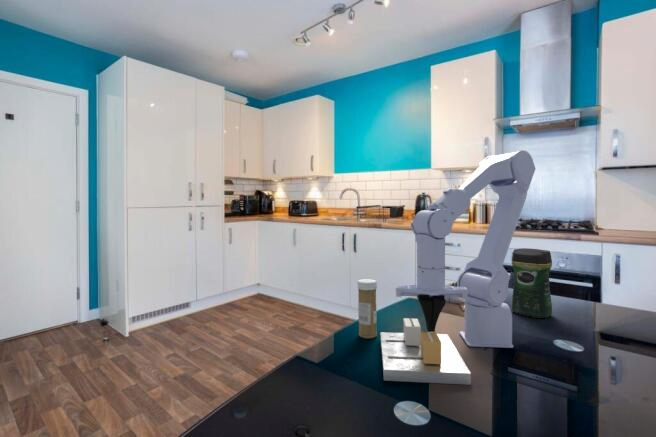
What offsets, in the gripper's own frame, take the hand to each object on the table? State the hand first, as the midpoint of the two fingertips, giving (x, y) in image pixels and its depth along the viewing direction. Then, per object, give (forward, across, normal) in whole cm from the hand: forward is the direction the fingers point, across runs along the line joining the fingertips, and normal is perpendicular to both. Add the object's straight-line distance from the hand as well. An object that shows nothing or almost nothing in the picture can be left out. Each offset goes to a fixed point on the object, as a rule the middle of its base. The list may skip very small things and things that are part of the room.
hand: (430, 330), depth 73 cm
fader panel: (+5, -3, -4) cm, 7 cm away
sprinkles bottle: (+5, -13, +8) cm, 16 cm away
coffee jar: (+5, +33, +28) cm, 43 cm away
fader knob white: (+2, -4, 0) cm, 5 cm away
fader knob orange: (+2, -1, -8) cm, 8 cm away
